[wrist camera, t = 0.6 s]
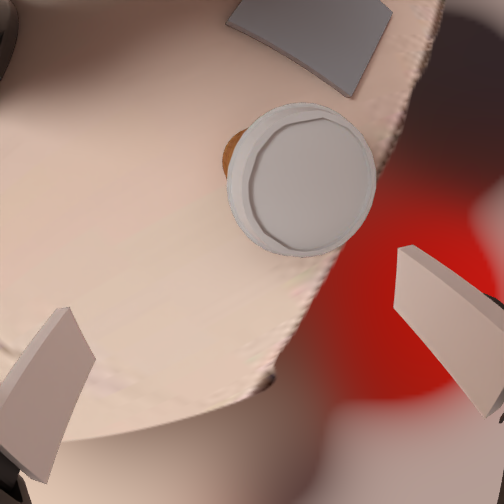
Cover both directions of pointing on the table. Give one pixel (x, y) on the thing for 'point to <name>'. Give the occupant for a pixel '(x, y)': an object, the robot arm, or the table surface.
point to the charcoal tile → (318, 34)
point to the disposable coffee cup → (299, 180)
